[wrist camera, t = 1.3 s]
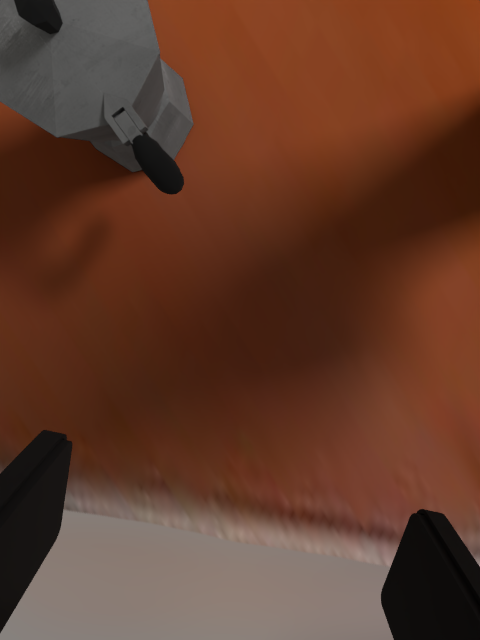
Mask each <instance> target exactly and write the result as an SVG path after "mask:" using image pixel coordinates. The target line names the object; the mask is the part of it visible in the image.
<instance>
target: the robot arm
mask: <svg viewBox="0 0 480 640" xmlns="http://www.w3.org/2000/svg"><path fill="white" fill-rule="evenodd" d="M71 451H72V442H71V441H67V437H66V435H65V434H61V433H57V432H52V431H47V430H43V431H42V432H41V433H40V434H39V435H38V436H37V437H36V438H35V439H34V440H33V441H32V442H31V443H30V444H29V445H28V446H27V447H26V448H25V449H24V450H23V451H22V452H21V453H20V454H19V455H18V456H17V457H16V458H15V459H14V460H13V461H12V462H11V463H10V464H9V465H8V466H7V467H6V468H5V469H4V470H3V471H2V473H1V474H0V633H1V631H2V629H3V627H4V626H5V624H6V623H7V621H8V619H9V618H10V616H11V614H12V613H13V611H14V609H15V608H16V606H17V604H18V602H19V601H20V599H21V598H22V596H23V594H24V593H25V591H26V589H27V588H28V586H29V584H30V583H31V581H32V579H33V578H34V576H35V574H36V572H37V571H38V569H39V568H40V566H41V564H42V562H43V561H44V559H45V557H46V556H47V554H48V552H49V551H50V549H51V547H52V546H53V544H54V542H55V541H56V539H57V536H58V533H59V531H60V527H61V522H62V514H63V508H64V501H65V494H66V487H67V479H68V472H69V465H70V458H71ZM381 603H382V607H383V610H384V613H385V616H386V619H387V621H388V624H389V627H390V630H391V633H392V635H393V638H394V640H480V566H479V565H478V564H477V562H476V561H475V559H474V558H473V556H472V555H471V553H470V552H469V550H468V549H467V547H466V546H465V544H464V543H463V541H462V540H461V538H460V537H459V535H458V534H457V532H456V531H455V530H454V528H453V527H452V525H451V524H450V522H449V521H448V519H447V518H446V516H445V515H444V514H442V513H438V512H433V511H429V510H424V509H420V510H419V511H417V513H414V514H412V515H411V516H410V518H409V521H408V524H407V526H406V529H405V531H404V534H403V537H402V539H401V542H400V544H399V547H398V550H397V552H396V555H395V557H394V560H393V563H392V565H391V568H390V570H389V573H388V575H387V578H386V581H385V583H384V586H383V589H382V592H381Z"/></svg>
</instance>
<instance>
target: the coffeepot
mask: <svg viewBox="0 0 480 640" xmlns="http://www.w3.org/2000/svg"><path fill="white" fill-rule="evenodd" d="M0 102H2V103H3V104H5V105H7V106H8V107H10V108H11V109H13V110H15V111H16V112H18V113H19V114H21V115H22V116H24V117H26V118H27V119H29V120H30V121H32V122H33V123H35V124H37V125H38V126H40V127H41V128H43V129H44V130H46V131H48V132H49V133H51V134H52V135H54V136H55V137H57V138H59V137H63V138H71V139H79V140H87V141H90V142H91V143H92V144H93V146H94V147H95V148H96V149H97V150H99V151H100V152H102V153H103V154H105V155H106V156H108V157H110V158H111V159H113V160H114V161H116V162H117V163H119V164H120V165H122V166H124V167H125V168H127V169H128V170H130V171H131V172H136V171H140V170H143V171H144V173H145V174H146V175H147V176H148V177H149V178H150V180H151V181H152V182H153V183H154V184H155V185H156V187H157V188H158V189H159V190H161V191H162V192H164V193H167V194H177V193H178V192H179V191H181V190H182V187H183V185H184V179H183V176H182V174H181V172H180V169H179V167H178V166H177V164H176V162H175V161H174V159H175V157H176V155H177V153H178V152H179V150H180V148H181V147H182V145H183V144H184V141H185V139H186V137H187V135H188V133H189V131H190V130H191V128H192V126H193V120H192V116H191V112H190V107H189V103H188V99H187V95H186V91H185V86H184V82H183V78H182V77H180V76H179V75H178V74H177V73H176V72H175V71H174V70H173V69H171V68H170V67H169V66H168V65H167V64H166V63H165V62H164V61H163V60H161V59H160V50H159V46H158V42H157V38H156V34H155V30H154V26H153V21H152V17H151V13H150V9H149V5H148V1H147V0H0Z"/></svg>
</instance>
